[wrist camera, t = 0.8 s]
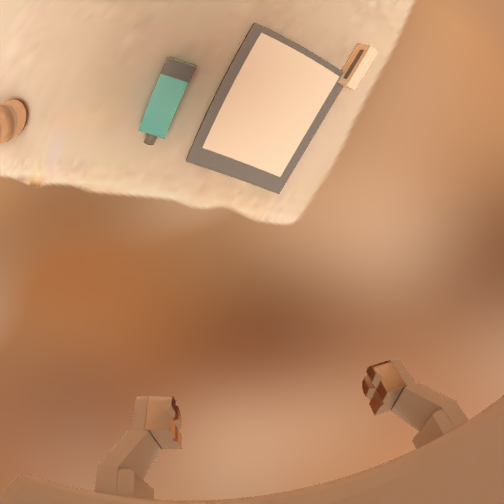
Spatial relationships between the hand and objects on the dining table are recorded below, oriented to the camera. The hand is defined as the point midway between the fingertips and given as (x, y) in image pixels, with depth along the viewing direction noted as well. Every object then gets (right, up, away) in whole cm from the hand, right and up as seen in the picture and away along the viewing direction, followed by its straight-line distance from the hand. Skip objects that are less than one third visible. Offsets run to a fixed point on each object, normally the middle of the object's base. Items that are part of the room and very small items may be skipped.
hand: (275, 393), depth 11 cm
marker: (-13, +28, +25) cm, 40 cm away
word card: (+15, +35, +26) cm, 46 cm away
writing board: (+1, +27, +30) cm, 40 cm away
